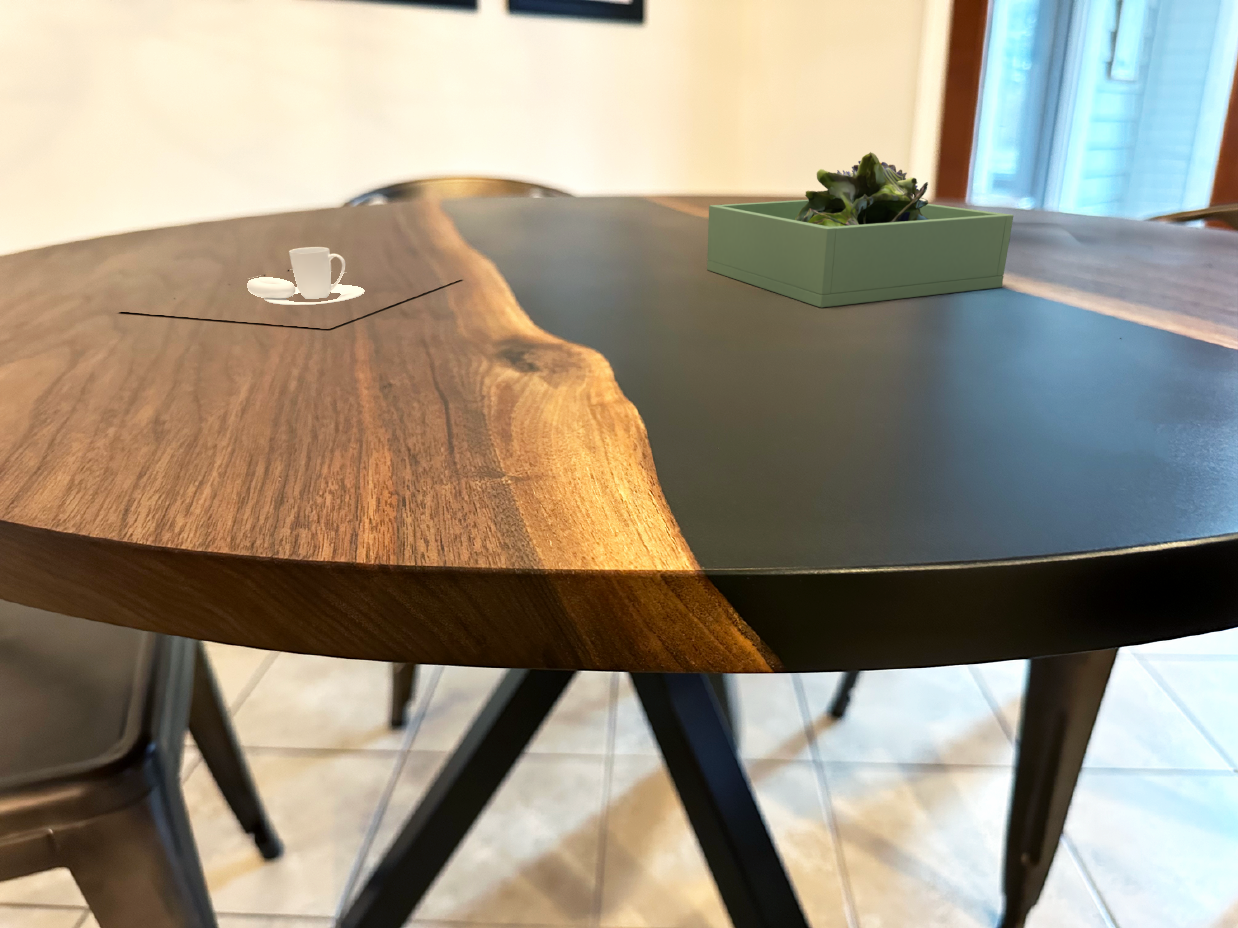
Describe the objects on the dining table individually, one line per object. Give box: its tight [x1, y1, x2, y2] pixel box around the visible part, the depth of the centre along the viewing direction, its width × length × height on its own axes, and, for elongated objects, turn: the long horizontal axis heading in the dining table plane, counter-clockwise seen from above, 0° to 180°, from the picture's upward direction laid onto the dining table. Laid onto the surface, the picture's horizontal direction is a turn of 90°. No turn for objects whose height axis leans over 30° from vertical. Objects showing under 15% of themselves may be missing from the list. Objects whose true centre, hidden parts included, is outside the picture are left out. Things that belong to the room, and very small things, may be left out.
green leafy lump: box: [795, 151, 929, 227], centre depth 74 cm, size 11×11×12 cm
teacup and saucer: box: [247, 246, 365, 305], centre depth 69 cm, size 9×8×4 cm
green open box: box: [706, 199, 1014, 309], centre depth 75 cm, size 19×19×6 cm
